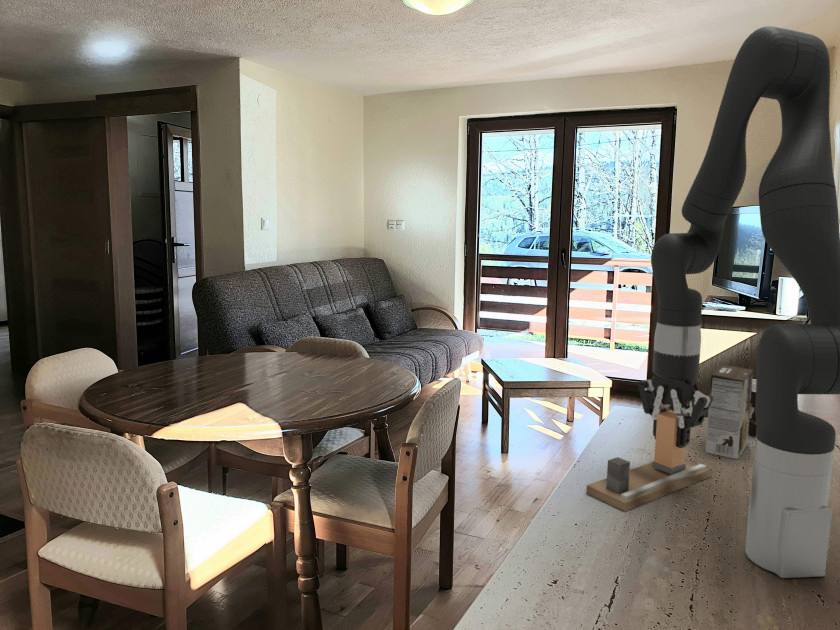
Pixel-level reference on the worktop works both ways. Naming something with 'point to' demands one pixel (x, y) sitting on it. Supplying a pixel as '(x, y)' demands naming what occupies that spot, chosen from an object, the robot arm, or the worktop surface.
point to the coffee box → (729, 411)
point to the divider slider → (668, 444)
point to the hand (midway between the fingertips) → (670, 442)
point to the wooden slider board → (642, 483)
